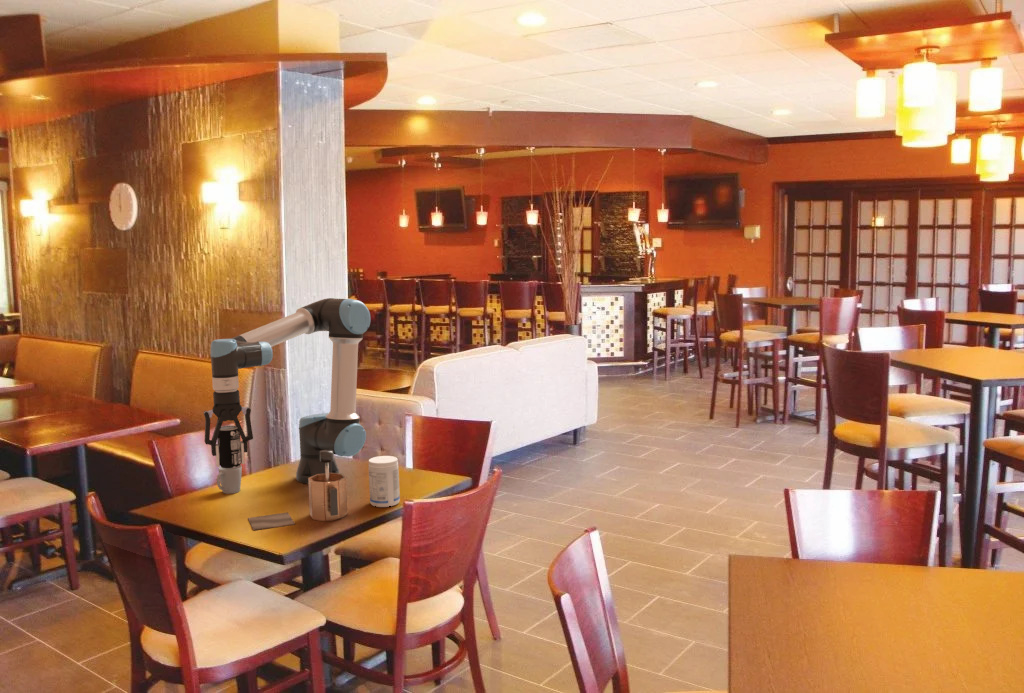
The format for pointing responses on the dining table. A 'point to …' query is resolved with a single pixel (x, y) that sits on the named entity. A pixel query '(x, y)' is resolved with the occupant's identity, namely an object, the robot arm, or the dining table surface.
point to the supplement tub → (384, 481)
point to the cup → (229, 479)
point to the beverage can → (229, 447)
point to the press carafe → (328, 497)
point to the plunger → (326, 460)
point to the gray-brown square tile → (271, 521)
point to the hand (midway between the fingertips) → (230, 464)
